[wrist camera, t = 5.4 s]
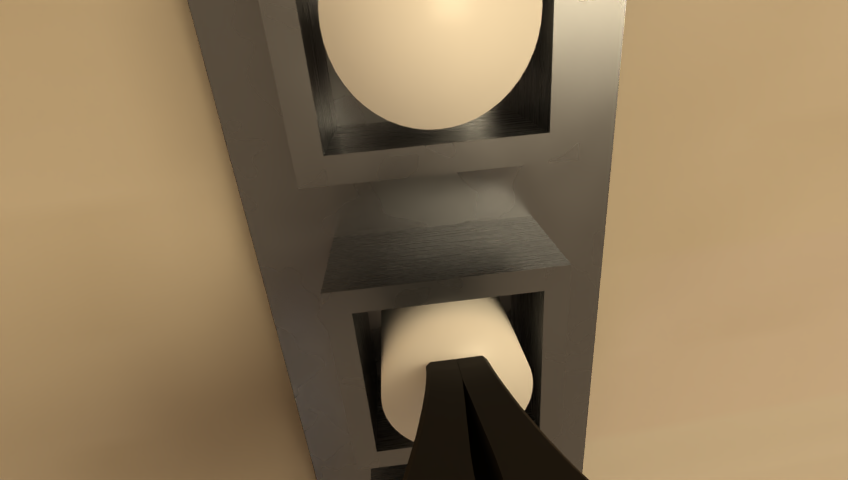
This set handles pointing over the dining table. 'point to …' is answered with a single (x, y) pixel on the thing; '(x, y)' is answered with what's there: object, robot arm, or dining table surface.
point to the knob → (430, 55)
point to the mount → (417, 214)
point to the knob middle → (445, 352)
